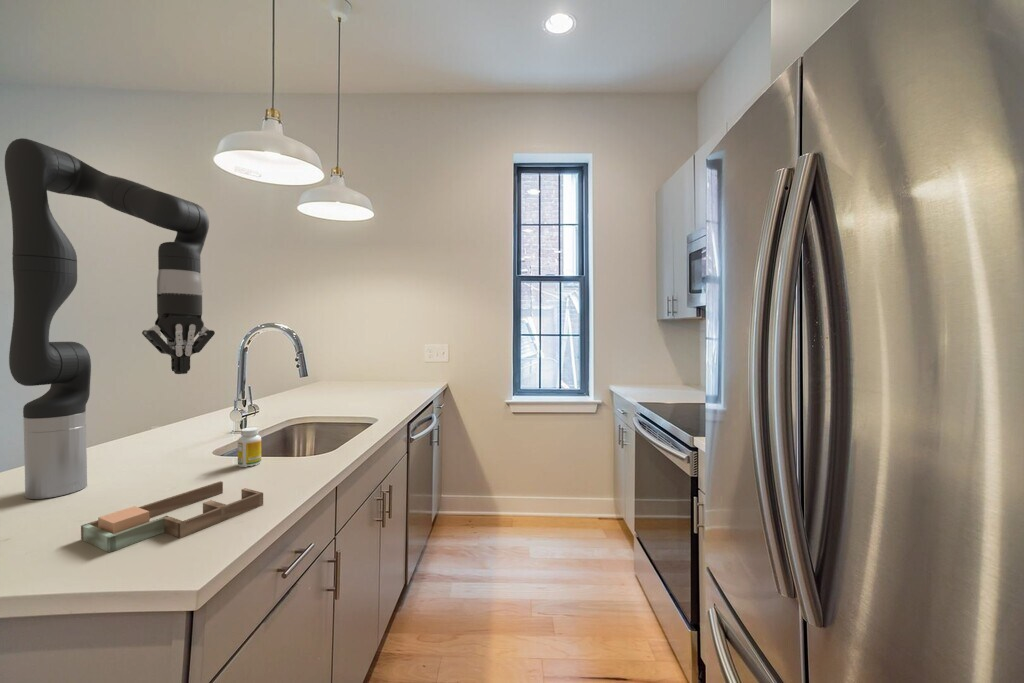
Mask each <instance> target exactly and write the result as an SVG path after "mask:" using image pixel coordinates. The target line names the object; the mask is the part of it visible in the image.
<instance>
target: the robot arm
mask: <svg viewBox="0 0 1024 683" xmlns="http://www.w3.org/2000/svg"><path fill="white" fill-rule="evenodd" d="M4 154H5V155H4V173H5V178H6V185H7V190H8V196H9V203H10V210H11V224H12V225H11V226H12V228H11V229H12V277H13V320H12V330H11V337H10V343H9V344H10V345H9V351H8V352H9V353H8V355H9V356H8V366H9V371H10V374H11V376H12V379H14V381H15V382H16V383H17V384H19V385H22V386H25V387H32V386H33V387H35V386H36V387H37V386H44V385H50V387H49V389H48V390H47V391H46V393H44V394H43V395H41V396H39V397H37V398H35V399H33V400H31V401H29V402H27V403H25V404H24V405H23V409H22V410H23V411H22V415H23V416H22V417H23V418H22V420H23V447H24V448H23V451H24V454H23V456H24V490H25V491H24V493H25V494H24V497H25V498H26V499H29V500H41V499H49V498H54V497H61V496H64V495H69V494H72V493H75V492H78V491H80V490H83V489H85V488H87V486H88V457H87V456H88V454H87V451H88V450H87V414H86V413H87V403H88V401H89V400H90V394H91V393H90V391H91V378H92V377H91V375H92V374H91V373H92V361H91V356H90V352H89V351H88V349H87V348H86V346H85V345H83V344H82V343H80V342H78V341H50V329H51V323H52V320H53V318H54V316H55V315H56V313H57V311H58V310H59V309H60V308H61V306H62V305H63V304H64V303H65V301H67V299H68V297H70V295H71V294H72V293H73V291H74V290H75V288H76V286H77V284H78V259H77V258H78V256H77V252H76V249H75V248H74V246H73V244H72V242H71V241H70V239H69V238H68V236H67V234H66V233H65V232H64V230H63V229H62V228H61V227H60V226H59V224H58V222H57V220H56V219H55V217H54V216H53V213H52V211H51V209H50V204H49V200H48V199H49V198H48V192H51V193H56V194H60V195H67V196H68V195H69V196H75V197H82V198H88V199H92V200H96V201H98V202H101V203H103V204H104V205H106V206H107V207H109V208H111V209H113V210H116V211H119V212H121V213H122V214H123V213H124V214H125V215H126V214H127V215H129V216H132V217H134V218H137V219H142V220H143V221H145V222H147V223H149V224H151V225H154V226H157V227H159V228H163V229H166V230H169V231H174V232H176V236H175V238H174V240H173V241H165V242H161V243H160V244H159V246H158V250H157V257H158V258H157V261H158V263H157V266H158V267H157V268H158V270H157V278H156V314H157V318H156V319H155V322H154V326H152V327H150V328H148V329H144V330H142V332H141V334H142V336H143V337H144V338H145V339H146V340H148V342H149V343H150V344H151V345H152V346H153V347H154V348H155V349H156V350H157V351H158V352H159V353H160V354H164V355H168V356H170V357H171V358H170V359H171V360H170V362H171V363H170V364H171V366H170V368H171V369H170V370H171V371H172V372H173V373H174V374H175V375H185V374H186V375H187V374H188V372H190V370H191V357H192V355H194V354H197V353H200V352H201V351H202V350H203V349H204V348H205V346H206V345H207V343H208V342H210V340H211V339H212V338H213V337H214V335H215V331H214V330H212V329H211V330H210V329H209V328H208V327H206V326H205V324H204V321H203V319H202V315H203V281H202V274H201V254H202V251H203V248H204V245H205V242H206V238H207V235H208V232H209V228H210V220H209V216H208V214H207V212H206V210H205V208H203V207H202V206H201V205H200V204H198V203H195V202H192V201H189V200H186V199H184V198H181V197H179V196H175V195H173V194H169V193H168V192H167V193H166V192H163V191H160V190H156V189H154V188H152V187H149V186H147V185H144V184H142V183H140V182H136V181H133V180H131V179H127V178H123V177H120V176H115V175H109V174H108V173H105V172H102V171H100V170H99V169H97V168H95V167H93V166H91V165H90V164H88V163H86V162H84V161H83V160H81V159H79V158H77V157H75V156H74V155H72V154H70V153H68V152H65V151H63V150H61V149H57V148H54V147H52V146H49V145H47V144H44V143H41V142H40V141H39V142H38V141H35V140H32V139H28V138H21V137H20V138H17V139H14V140H12V141H11V142H10V143H9V144H8V146H7V148H6V151H5V153H4ZM197 335H198V336H197ZM161 336H164V337H165V339H166V341H165V340H164V339H163V337H161ZM196 337H197V338H196ZM195 338H196V339H195Z"/></svg>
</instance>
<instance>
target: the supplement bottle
mask: <svg viewBox="0 0 1024 683" xmlns="http://www.w3.org/2000/svg"><path fill="white" fill-rule="evenodd" d="M259 433H260V430H259V427H257V426H256V427H255V426H253V427H245V428H241V429H240V437H239V438H238V439H237V465H238V467H240V468H248V467H247V466H251V467H253V466H252V465H256V464H258V465H260V464H261V463H262V437H261V435H258V434H259ZM259 463H260V464H259ZM256 466H257V465H256Z"/></svg>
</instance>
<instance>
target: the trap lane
mask: <svg viewBox="0 0 1024 683" xmlns="http://www.w3.org/2000/svg"><path fill="white" fill-rule="evenodd" d="M223 486H224V481H221V480H220V481H217V482H213V483H210V484H208V485H207V484H206V485H205V486H204V485H203V486H202V487H198V488H195V489H191V490H188V491H186V492H182V493H179V494H177V495H173V496H170V497H167V498H164V499H160V500H156V501H154V502H151V503H150V502H149V503H147V504H144V505H141V506H137V507H138V508H141V509H144V510H147V511H149V519H151V518H154V517H156V516H157V517H158V516H161V515H162V514H165V513H168V512H170V511H171V512H172V511H174V510H177V509H180V508H183V507H186V506H188V505H192V504H195V503H197V502H200V501H201V502H202V501H204V500H206V499H208V498H212V497H215V496H218V495H221V494H223V493H224V487H223ZM240 493H241V498H240V499H239V500H236V501H233V502H231V503H228V504H226V503H222V502H220V501H219V502H218V501H216V500H213V499H210V500H208V501H204V502H203V503H202V513H201V514H198V515H195V516H193V517H191V518H188V519H185V520H181V519H178V518H174V517H172V516H170V515H165V516H162V517H159V518H156V519H153V520H151V521H150V520H149V522H147V523H144V524H141V525H138V526H136V527H133V528H130V529H127V530H124V531H121V532H118V533H116V534H112V533H109V532H107V531H104V530H102V529H99V528H98V519H97V520H95V521H91V522H87V523H85V524H82V525H80V540H81V539H82V540H81V541H83V540H84V541H83V542H85V541H86V542H85V543H87V542H88V543H87V544H90V545H92V546H95V547H96V548H99V549H101V550H103V551H105V552H108V553H113V552H115V551H118V550H120V549H123V548H126V547H128V546H131V545H134V544H137V543H139V542H142V541H144V540H147V539H149V538H153V537H154V536H157V535H160V534H162V533H166V534H168V535H171V536H174V537H177V538H180V539H181V538H184V537H186V536H188V535H191V534H194V533H197V532H199V531H202V530H204V529H207V528H209V527H211V526H214V525H217V524H219V523H221V522H224V521H226V520H228V519H232V518H234V517H236V516H238V515H239V516H240V515H241V514H243V513H246V512H249V511H251V510H254V509H256V508H258V506H259V507H260V506H264V492H262V491H259V490H254V489H251V488H242V489H241V492H240ZM150 517H151V518H150Z"/></svg>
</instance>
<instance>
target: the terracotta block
mask: <svg viewBox="0 0 1024 683" xmlns="http://www.w3.org/2000/svg"><path fill="white" fill-rule="evenodd" d="M138 507H139V506H134V505H133V506H130V507H126V508H124V509H121V510H120V509H119V510H118V511H114V512H112V513H108V514H105V515H102V516H99V517H98V519H97V520H98V528H99V529H102V530H104V531H107V532H109V533H112V534H116V533H118V532H121V531H124V530H127V529H130V528H133V527H136V526H138V525H141V524H144V523H147V522H150V518H149V511H147V510H144V509H141V508H138Z"/></svg>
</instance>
